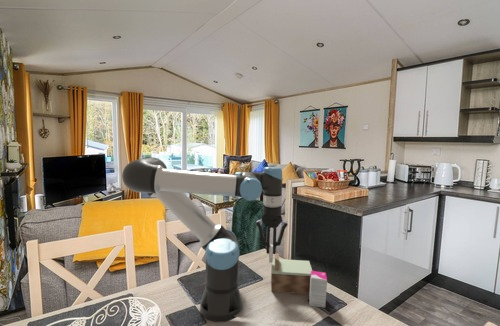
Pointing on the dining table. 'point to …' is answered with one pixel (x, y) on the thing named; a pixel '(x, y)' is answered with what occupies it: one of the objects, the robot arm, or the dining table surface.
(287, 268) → the lid
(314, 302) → the supplement box
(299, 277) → the box
